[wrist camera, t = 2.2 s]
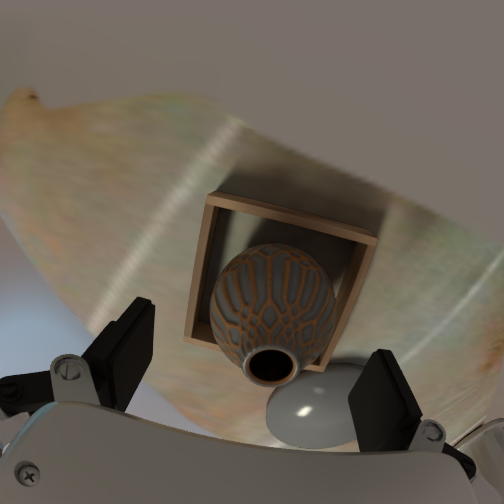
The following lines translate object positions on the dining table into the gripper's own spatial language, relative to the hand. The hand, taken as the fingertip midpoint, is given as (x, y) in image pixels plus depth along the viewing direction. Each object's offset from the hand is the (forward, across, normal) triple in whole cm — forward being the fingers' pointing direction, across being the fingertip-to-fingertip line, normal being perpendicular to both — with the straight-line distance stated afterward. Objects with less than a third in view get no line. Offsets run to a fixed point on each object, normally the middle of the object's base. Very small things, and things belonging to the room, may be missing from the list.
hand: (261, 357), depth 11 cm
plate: (+8, -9, +11) cm, 16 cm away
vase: (+9, -1, 0) cm, 9 cm away
